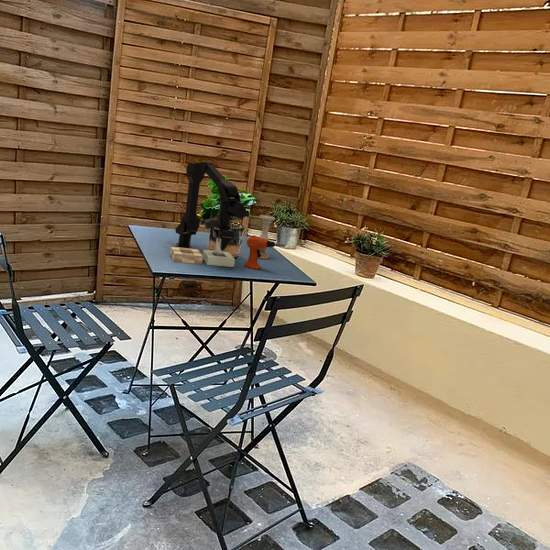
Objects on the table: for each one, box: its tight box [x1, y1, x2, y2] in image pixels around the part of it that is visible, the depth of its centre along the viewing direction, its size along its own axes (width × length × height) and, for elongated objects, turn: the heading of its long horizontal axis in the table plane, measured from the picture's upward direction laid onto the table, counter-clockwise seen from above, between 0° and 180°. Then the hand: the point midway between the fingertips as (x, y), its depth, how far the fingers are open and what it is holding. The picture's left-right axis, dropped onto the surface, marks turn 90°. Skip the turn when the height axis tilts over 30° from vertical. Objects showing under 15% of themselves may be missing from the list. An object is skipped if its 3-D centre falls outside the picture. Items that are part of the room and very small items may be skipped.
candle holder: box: [258, 214, 276, 260], centre depth 265 cm, size 9×9×20 cm
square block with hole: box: [201, 249, 236, 268], centre depth 243 cm, size 12×12×4 cm
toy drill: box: [243, 235, 286, 270], centre depth 241 cm, size 5×19×15 cm, turn 67°
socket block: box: [169, 246, 203, 265], centre depth 238 cm, size 12×12×4 cm
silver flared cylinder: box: [214, 237, 225, 257], centre depth 242 cm, size 4×4×11 cm
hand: (219, 248), depth 242 cm, fingers open, 9 cm apart
